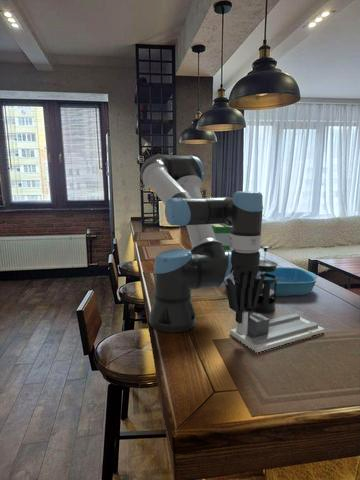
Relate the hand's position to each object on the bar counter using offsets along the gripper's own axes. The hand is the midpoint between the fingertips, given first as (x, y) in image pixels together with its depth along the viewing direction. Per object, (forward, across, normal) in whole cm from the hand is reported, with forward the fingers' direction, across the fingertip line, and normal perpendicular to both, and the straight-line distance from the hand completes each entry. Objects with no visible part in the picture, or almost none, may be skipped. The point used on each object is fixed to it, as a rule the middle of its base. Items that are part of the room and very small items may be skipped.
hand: (241, 332), depth 88 cm
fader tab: (+2, +6, 0) cm, 6 cm away
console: (+4, +14, 0) cm, 14 cm away
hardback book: (+3, +34, +66) cm, 74 cm away
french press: (+4, +22, +18) cm, 29 cm away
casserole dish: (+4, +40, +33) cm, 52 cm away
